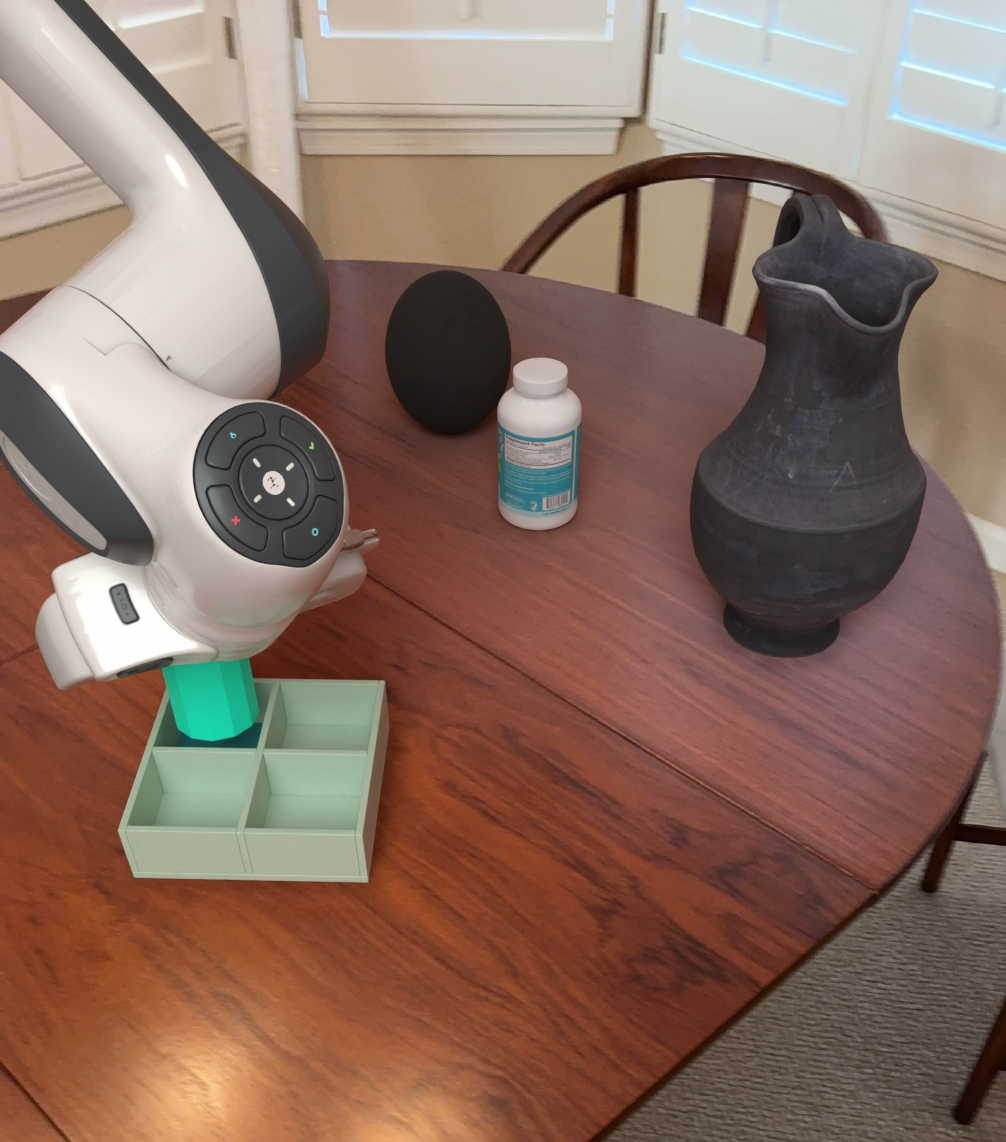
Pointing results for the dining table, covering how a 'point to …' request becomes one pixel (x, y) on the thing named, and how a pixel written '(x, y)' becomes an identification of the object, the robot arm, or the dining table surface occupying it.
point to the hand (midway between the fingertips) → (193, 632)
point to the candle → (212, 698)
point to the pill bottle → (539, 446)
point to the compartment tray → (265, 789)
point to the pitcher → (815, 440)
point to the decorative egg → (448, 351)
